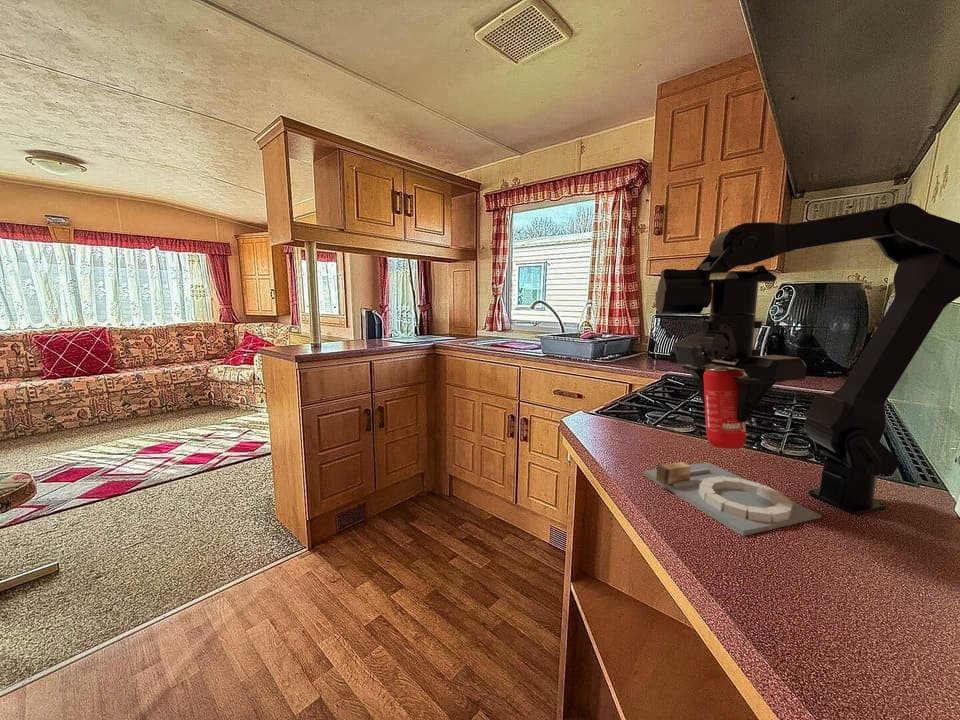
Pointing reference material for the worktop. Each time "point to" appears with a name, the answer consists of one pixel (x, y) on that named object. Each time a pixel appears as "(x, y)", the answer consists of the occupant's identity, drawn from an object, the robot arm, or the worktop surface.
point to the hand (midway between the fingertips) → (724, 416)
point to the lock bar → (673, 473)
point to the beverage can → (723, 408)
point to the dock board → (736, 500)
